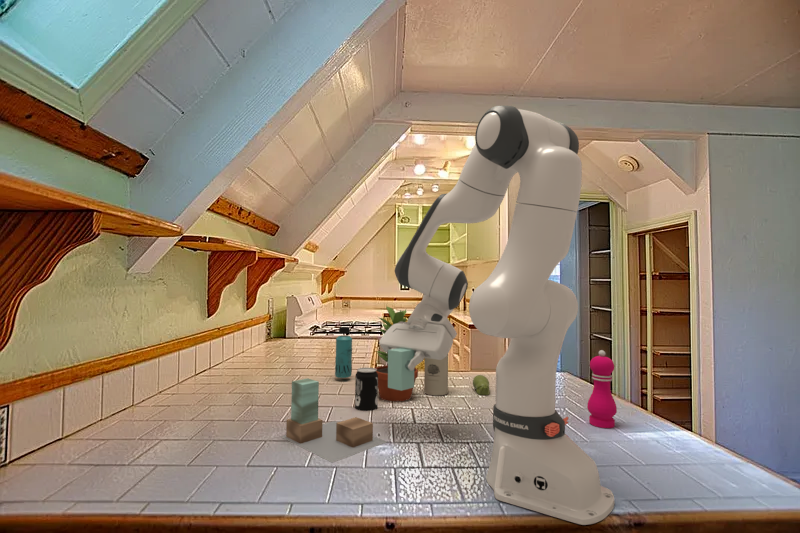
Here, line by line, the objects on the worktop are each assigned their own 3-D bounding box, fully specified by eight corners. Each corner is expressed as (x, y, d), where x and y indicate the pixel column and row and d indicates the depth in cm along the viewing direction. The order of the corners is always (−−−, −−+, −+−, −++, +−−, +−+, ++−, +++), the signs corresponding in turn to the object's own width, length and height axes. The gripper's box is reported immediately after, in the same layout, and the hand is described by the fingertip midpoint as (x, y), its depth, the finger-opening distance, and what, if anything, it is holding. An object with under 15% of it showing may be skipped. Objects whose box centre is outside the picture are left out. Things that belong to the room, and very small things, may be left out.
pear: (487, 372, 152) (493, 384, 142) (486, 387, 153) (492, 399, 143) (471, 372, 152) (476, 384, 142) (470, 386, 153) (475, 399, 143)
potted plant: (412, 405, 130) (413, 307, 131) (366, 400, 135) (367, 305, 136) (425, 393, 144) (426, 304, 145) (383, 389, 149) (384, 303, 150)
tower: (322, 436, 101) (323, 381, 102) (300, 443, 97) (301, 385, 97) (307, 430, 105) (308, 377, 106) (286, 436, 101) (287, 381, 101)
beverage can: (374, 415, 121) (374, 372, 121) (351, 413, 122) (352, 371, 123) (379, 408, 127) (380, 367, 128) (358, 406, 129) (359, 366, 129)
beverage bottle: (332, 381, 159) (333, 327, 160) (337, 377, 166) (338, 325, 166) (349, 382, 158) (350, 328, 159) (354, 378, 165) (354, 326, 165)
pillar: (414, 387, 103) (414, 349, 104) (401, 390, 100) (401, 351, 100) (400, 384, 106) (400, 347, 107) (387, 387, 103) (387, 349, 103)
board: (387, 446, 99) (387, 441, 99) (332, 467, 87) (332, 462, 87) (334, 424, 113) (334, 420, 113) (280, 440, 101) (280, 436, 101)
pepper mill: (620, 424, 116) (620, 350, 117) (611, 431, 111) (611, 353, 111) (592, 418, 121) (592, 347, 121) (583, 424, 116) (583, 350, 116)
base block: (372, 440, 99) (372, 423, 100) (352, 447, 95) (353, 429, 95) (355, 433, 104) (356, 417, 104) (336, 440, 99) (336, 422, 99)
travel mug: (432, 388, 151) (432, 337, 151) (452, 392, 146) (452, 339, 147) (419, 393, 144) (420, 340, 145) (440, 397, 140) (440, 342, 140)
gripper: (390, 313, 116) (363, 354, 108) (451, 317, 102) (425, 364, 94) (401, 329, 119) (376, 369, 111) (462, 334, 105) (438, 381, 97)
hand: (399, 367), depth 103 cm, fingers closed on pillar, 4 cm apart
